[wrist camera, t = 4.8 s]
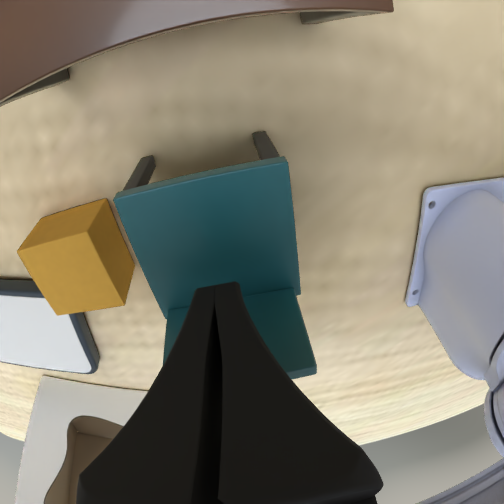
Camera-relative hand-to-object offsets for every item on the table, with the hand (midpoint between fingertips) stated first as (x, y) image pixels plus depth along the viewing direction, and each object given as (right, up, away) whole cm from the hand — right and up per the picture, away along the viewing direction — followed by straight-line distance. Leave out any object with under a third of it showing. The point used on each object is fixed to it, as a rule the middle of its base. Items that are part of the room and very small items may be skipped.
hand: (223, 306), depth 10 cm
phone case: (-18, -3, +9) cm, 20 cm away
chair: (-1, +4, +5) cm, 7 cm away
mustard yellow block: (-8, +2, +6) cm, 10 cm away
